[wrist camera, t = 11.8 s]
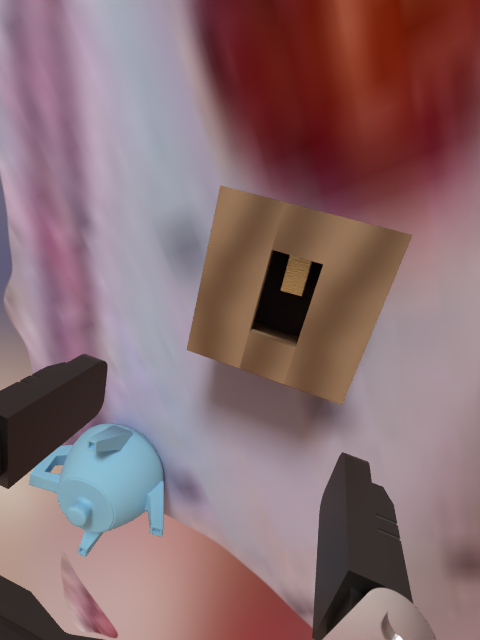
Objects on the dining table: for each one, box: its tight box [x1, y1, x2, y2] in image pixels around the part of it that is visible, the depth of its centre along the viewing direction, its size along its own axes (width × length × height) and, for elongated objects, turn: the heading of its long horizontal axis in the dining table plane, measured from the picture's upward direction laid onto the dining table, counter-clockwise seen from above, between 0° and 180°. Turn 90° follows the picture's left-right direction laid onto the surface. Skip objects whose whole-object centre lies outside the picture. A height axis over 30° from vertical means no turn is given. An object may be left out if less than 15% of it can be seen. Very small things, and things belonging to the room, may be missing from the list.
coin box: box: [187, 186, 412, 405], centre depth 31 cm, size 14×14×10 cm
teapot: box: [29, 424, 164, 557], centre depth 45 cm, size 15×15×11 cm
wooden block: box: [281, 255, 313, 296], centre depth 33 cm, size 2×5×4 cm
